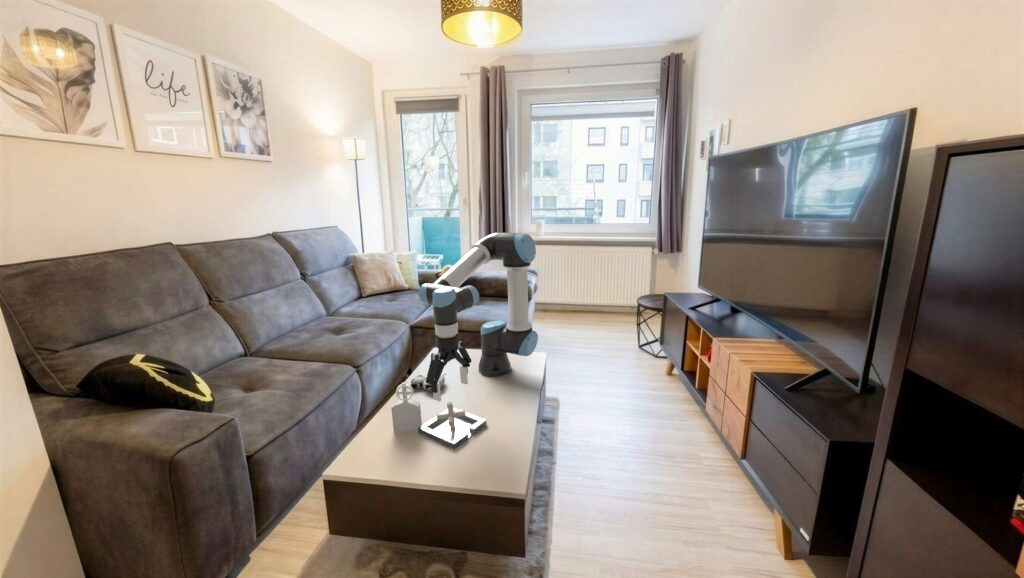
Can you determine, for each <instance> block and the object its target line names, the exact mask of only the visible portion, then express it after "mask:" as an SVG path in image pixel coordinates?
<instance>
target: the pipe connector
mask: <svg viewBox="0 0 1024 578" xmlns="http://www.w3.org/2000/svg"><path fill="white" fill-rule="evenodd" d="M446 405H447V409H448V413H444V414H441V413H438V414H437V413H436V416H437V420H440V419H447V418H449V423H448V424H449V426H450V429H455V421H454V417H461V416H466V414H465V412H466V410H462V411H458V412H454V408H455V407H454V406H453V402H452V401H448V402H446Z"/></svg>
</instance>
